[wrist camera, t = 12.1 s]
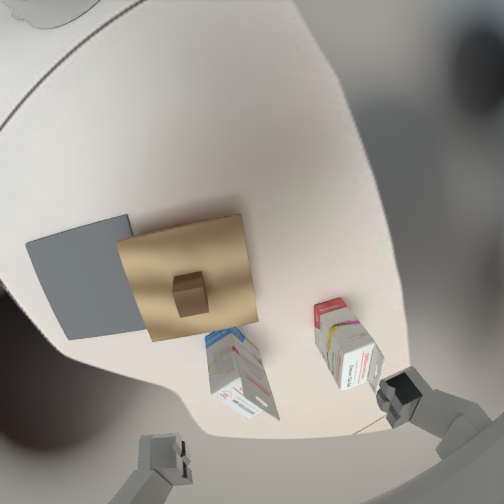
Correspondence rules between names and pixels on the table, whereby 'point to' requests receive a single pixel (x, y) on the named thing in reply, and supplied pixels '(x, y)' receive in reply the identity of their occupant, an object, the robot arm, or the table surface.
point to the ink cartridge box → (346, 346)
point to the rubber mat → (87, 279)
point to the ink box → (238, 374)
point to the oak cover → (191, 277)
